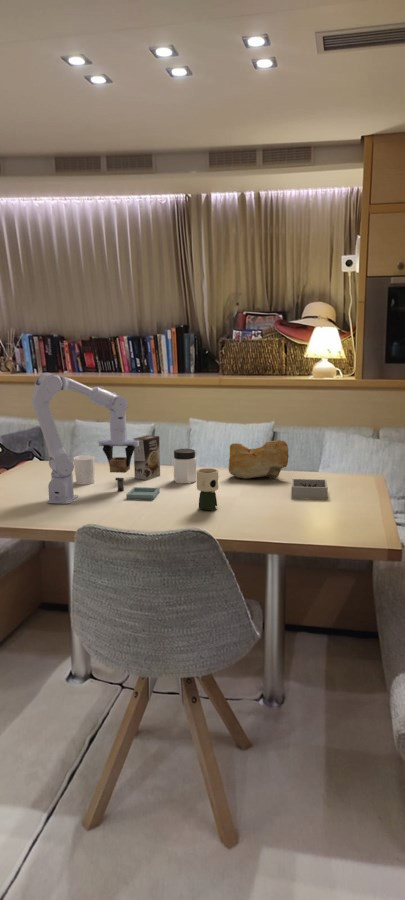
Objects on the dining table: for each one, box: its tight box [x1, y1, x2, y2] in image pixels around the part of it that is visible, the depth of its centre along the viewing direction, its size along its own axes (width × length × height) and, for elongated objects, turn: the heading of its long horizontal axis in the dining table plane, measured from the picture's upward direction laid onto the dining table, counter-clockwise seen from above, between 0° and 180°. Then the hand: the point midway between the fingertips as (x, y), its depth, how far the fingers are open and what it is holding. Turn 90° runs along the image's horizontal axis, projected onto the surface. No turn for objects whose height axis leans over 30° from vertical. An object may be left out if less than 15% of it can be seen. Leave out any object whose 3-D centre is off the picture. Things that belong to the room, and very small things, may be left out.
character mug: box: [196, 467, 219, 511], centre depth 203 cm, size 11×7×13 cm, turn 153°
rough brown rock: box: [228, 440, 290, 479], centre depth 245 cm, size 23×17×15 cm
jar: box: [173, 448, 197, 484], centre depth 239 cm, size 9×8×12 cm
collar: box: [108, 456, 131, 474], centre depth 226 cm, size 6×6×4 cm
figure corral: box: [290, 478, 329, 500], centre depth 219 cm, size 11×12×4 cm
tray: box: [126, 486, 161, 501], centre depth 220 cm, size 10×10×2 cm
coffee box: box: [133, 434, 161, 481], centre depth 246 cm, size 9×6×16 cm
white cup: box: [73, 454, 95, 486], centre depth 239 cm, size 8×8×10 cm
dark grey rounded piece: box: [114, 477, 125, 493], centre depth 227 cm, size 2×3×5 cm
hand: (119, 465), depth 226 cm, fingers closed on collar, 6 cm apart
